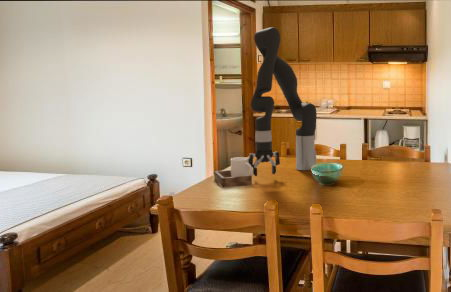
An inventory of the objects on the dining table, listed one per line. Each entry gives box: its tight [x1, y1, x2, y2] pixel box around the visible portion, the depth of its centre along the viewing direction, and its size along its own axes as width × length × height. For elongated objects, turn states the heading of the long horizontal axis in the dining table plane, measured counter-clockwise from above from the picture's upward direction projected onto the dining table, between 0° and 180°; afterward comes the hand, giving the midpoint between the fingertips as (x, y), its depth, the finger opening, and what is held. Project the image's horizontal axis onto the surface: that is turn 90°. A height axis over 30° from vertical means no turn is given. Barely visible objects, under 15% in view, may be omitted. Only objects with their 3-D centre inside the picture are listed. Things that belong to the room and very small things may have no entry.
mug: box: [230, 156, 254, 177], centre depth 230 cm, size 12×8×10 cm
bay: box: [213, 169, 253, 188], centre depth 230 cm, size 13×17×4 cm
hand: (264, 174), depth 233 cm, fingers open, 8 cm apart
